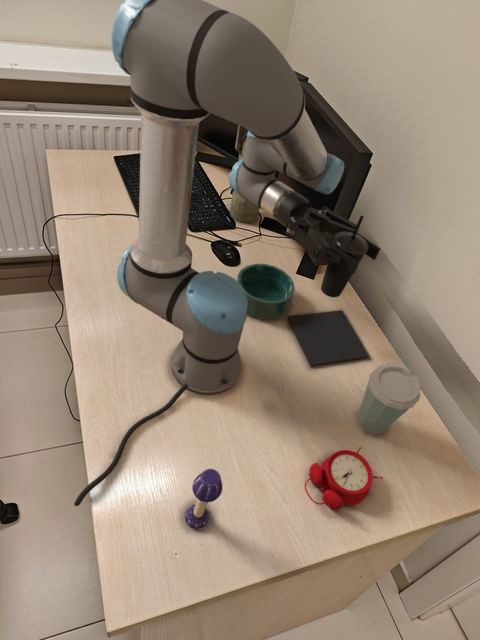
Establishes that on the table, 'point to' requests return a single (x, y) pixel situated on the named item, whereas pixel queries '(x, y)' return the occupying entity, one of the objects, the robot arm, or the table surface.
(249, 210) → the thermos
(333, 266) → the drinking cup
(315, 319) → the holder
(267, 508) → the table surface
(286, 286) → the green bowl
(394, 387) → the disposable coffee cup
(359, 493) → the alarm clock
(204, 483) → the toy lamp
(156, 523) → the table surface
